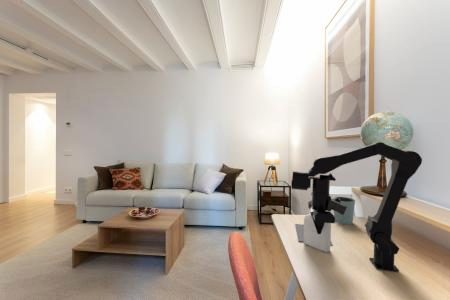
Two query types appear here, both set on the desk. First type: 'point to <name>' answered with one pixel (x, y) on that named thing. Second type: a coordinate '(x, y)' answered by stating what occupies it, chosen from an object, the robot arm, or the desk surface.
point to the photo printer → (317, 235)
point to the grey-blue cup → (349, 212)
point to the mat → (301, 233)
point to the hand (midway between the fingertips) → (319, 233)
